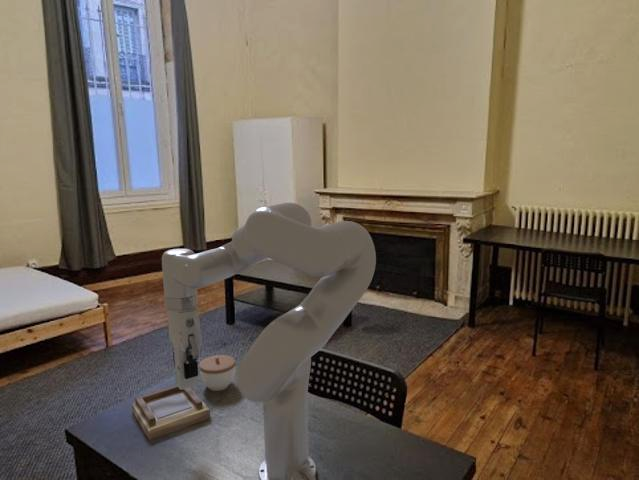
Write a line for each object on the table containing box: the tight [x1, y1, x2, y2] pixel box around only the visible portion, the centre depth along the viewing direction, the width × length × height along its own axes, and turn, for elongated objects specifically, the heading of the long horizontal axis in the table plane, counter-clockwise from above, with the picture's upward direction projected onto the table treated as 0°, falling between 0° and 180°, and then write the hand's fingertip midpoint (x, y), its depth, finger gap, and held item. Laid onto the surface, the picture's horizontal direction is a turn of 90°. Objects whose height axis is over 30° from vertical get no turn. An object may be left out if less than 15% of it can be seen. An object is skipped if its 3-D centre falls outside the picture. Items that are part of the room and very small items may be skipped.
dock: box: [131, 384, 211, 441], centre depth 124 cm, size 16×16×4 cm
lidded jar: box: [198, 354, 236, 392], centre depth 139 cm, size 11×11×9 cm
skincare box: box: [173, 343, 198, 390], centre depth 111 cm, size 6×4×12 cm
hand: (185, 370), depth 111 cm, fingers closed on skincare box, 6 cm apart
